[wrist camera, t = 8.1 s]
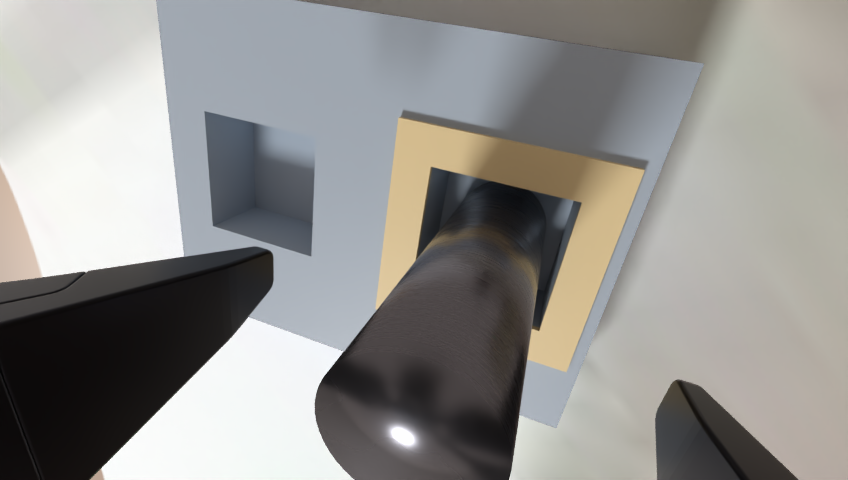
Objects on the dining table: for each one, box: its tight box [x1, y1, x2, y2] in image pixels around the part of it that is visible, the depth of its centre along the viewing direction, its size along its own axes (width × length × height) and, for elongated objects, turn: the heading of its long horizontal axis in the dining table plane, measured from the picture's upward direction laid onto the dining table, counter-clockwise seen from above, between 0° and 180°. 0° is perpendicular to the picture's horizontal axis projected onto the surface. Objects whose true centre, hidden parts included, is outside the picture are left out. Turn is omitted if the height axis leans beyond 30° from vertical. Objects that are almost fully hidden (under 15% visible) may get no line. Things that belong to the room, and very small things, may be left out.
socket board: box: [156, 0, 704, 428], centre depth 15 cm, size 16×12×3 cm
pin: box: [315, 181, 546, 480], centre depth 11 cm, size 3×3×10 cm
